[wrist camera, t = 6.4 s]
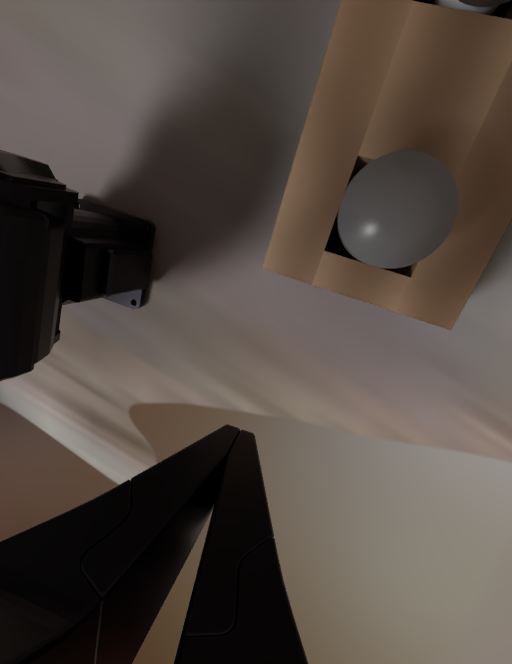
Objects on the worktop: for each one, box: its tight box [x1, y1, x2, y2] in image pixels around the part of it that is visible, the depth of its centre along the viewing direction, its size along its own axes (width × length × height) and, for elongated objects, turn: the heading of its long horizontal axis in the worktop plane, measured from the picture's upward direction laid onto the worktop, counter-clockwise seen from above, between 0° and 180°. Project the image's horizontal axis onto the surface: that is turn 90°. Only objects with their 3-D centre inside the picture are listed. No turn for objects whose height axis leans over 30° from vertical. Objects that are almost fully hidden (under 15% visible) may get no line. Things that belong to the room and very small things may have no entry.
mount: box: [262, 0, 512, 330], centre depth 14 cm, size 10×18×4 cm, turn 163°
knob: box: [337, 150, 458, 269], centre depth 14 cm, size 4×4×6 cm
